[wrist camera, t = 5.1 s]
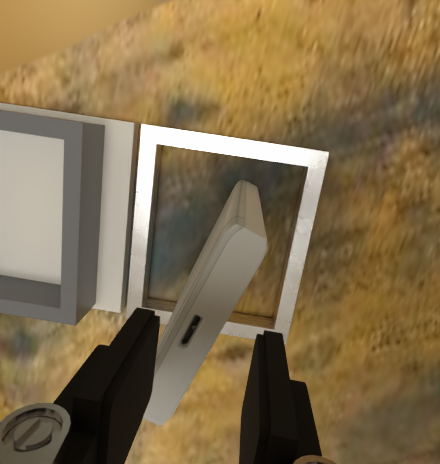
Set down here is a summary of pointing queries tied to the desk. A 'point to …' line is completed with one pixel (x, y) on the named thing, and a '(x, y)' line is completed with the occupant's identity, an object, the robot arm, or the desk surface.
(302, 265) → the rectangular frame tray
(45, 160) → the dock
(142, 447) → the desk surface
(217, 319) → the hard drive
